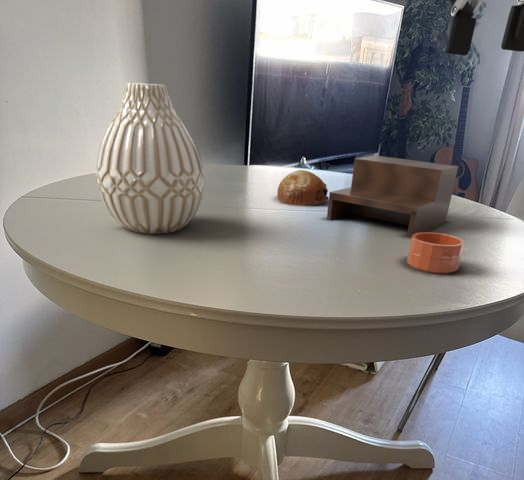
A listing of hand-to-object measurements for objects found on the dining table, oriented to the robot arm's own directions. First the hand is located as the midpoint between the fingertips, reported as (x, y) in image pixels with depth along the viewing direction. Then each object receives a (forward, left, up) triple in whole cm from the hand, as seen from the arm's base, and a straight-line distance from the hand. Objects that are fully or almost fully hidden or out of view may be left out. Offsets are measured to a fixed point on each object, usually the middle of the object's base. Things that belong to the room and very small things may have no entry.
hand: (483, 52), depth 58 cm
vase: (+38, +21, -26) cm, 50 cm away
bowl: (-2, +7, -25) cm, 26 cm away
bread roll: (+34, -15, -26) cm, 45 cm away
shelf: (+14, -13, -25) cm, 32 cm away
